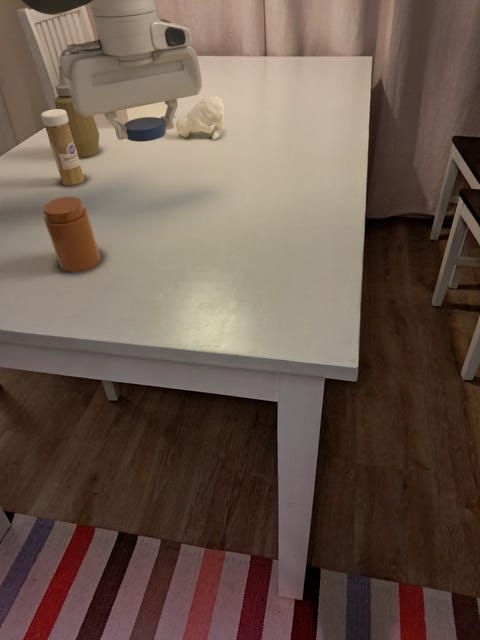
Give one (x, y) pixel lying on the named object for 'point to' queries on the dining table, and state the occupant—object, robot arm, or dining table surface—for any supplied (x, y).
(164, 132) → the lid
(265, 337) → the dining table surface
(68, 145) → the sprinkles bottle
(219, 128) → the white lumpy piece
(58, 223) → the jar
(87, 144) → the squeeze bottle
